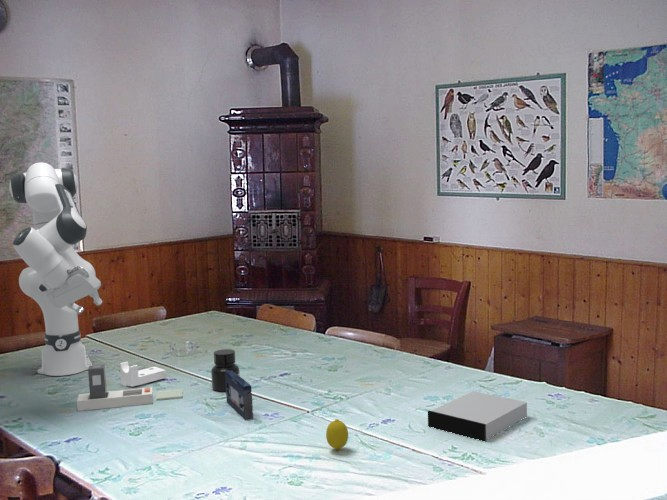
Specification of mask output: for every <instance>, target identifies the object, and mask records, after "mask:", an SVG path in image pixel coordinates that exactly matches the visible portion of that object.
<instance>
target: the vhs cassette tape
mask: <svg viewBox="0 0 667 500" xmlns="http://www.w3.org/2000/svg"><path fill="white" fill-rule="evenodd" d="M225 383H226V392H225V394H226V395H225V396H226V403H227V404H228V406H230V407H231V409H233V410H234V411H235V412H236V414H238V415H239V416H240V417H241V418H242V419H243V420H244V421H249V420H253V419H254V412H253V411H254V409H253V394H252V392H253V391H252V385H251V384H250V383H249V382H248V381H246V380H245V379H244V378H243V377H241V375H240V376H239V375H237V374H236V373H235V372H233V371H232V370H229V371H225Z"/></svg>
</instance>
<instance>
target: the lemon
mask: <svg viewBox="0 0 667 500" xmlns="http://www.w3.org/2000/svg"><path fill="white" fill-rule="evenodd" d="M325 436H326V442H327V443H328V445H329V447H331V448H333V449H334V450H336V451H340V450H341V449H342V448H343V447H344V446H346V445H347V444H348V440H349V431H348V427H347V425H346V423H344V421H342V420H340V419H335V420H333V421H331V422H330V423H329V424H328V426H327V428H326V432H325Z"/></svg>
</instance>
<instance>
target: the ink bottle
mask: <svg viewBox="0 0 667 500" xmlns="http://www.w3.org/2000/svg"><path fill="white" fill-rule="evenodd" d="M213 363H214V366H212V368H211V371H210V372H211V375H210V376H211V388H212V390H214V391H216V392H221V393H222V392H223V393H224V392H225V393H226V383H225V371H229V370H232V371H233V372H235V373H236V374H237V375H239V376H240V377H241V375H240V367H239V366H238V365H237V364H236V351H235V350H234V349H232V348H231V349H230V348H229V349H228V348H226V349H225V348H224V349H218V350H215V351H213Z"/></svg>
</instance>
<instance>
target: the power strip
mask: <svg viewBox="0 0 667 500" xmlns="http://www.w3.org/2000/svg"><path fill="white" fill-rule="evenodd" d="M150 404H154V390H153V387H152V386H151V387H144V388H143V387H142V388H141V387H139V388H133V389H122V390H121V389H120V390H110V391H107V398H99V399H90V392H87V393H79V394H78V396H77V399H76V407H77V412H80V411H89V410H90V411H91V410H100V409H112V408H121V407H130V406H139V405H140V406H141V405H150Z"/></svg>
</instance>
